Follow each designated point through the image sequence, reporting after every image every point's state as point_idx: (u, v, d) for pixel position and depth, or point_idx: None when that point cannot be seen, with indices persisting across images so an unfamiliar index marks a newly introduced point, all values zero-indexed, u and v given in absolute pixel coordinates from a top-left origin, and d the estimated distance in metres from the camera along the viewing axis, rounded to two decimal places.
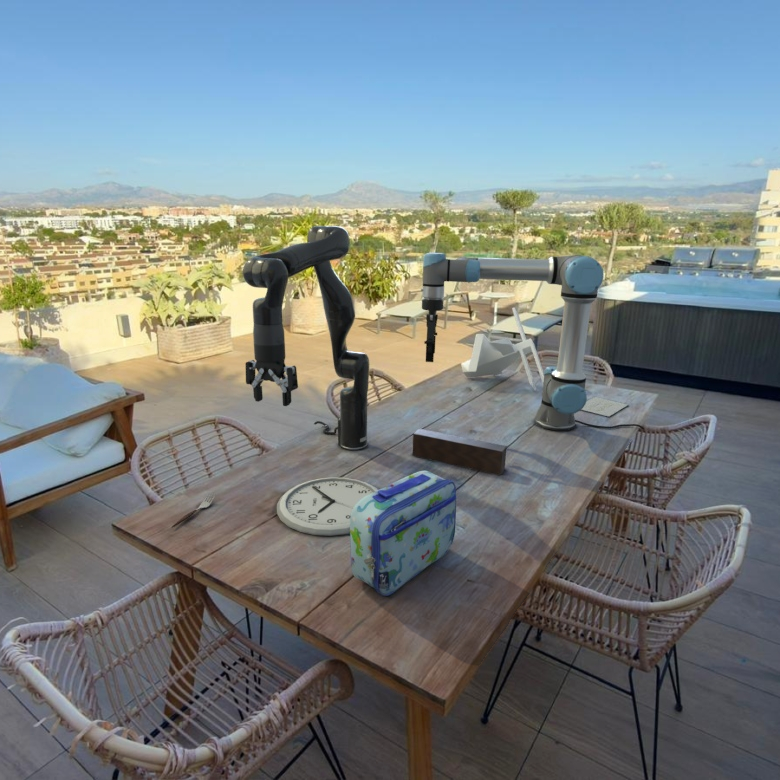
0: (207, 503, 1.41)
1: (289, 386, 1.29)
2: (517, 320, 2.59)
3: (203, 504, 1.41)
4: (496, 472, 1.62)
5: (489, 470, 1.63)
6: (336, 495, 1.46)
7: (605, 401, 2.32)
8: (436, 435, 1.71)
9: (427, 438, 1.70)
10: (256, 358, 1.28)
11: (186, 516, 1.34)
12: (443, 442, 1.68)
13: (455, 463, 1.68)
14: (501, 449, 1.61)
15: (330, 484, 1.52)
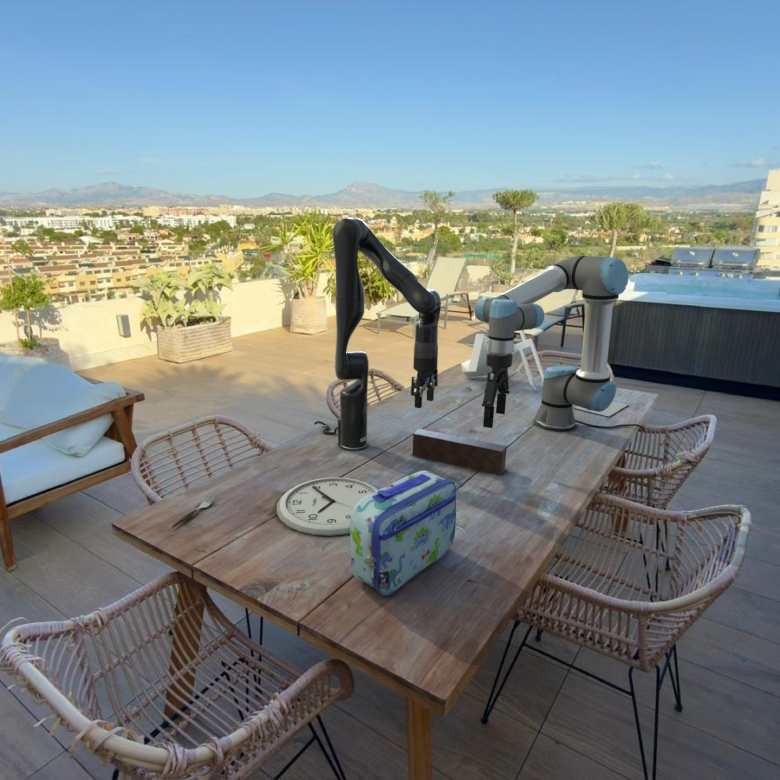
0: (207, 503, 1.41)
1: (436, 383, 1.71)
2: None
3: (203, 504, 1.41)
4: (496, 472, 1.62)
5: (489, 470, 1.63)
6: (336, 495, 1.46)
7: None
8: (436, 435, 1.71)
9: (427, 438, 1.70)
10: (432, 369, 1.61)
11: (186, 516, 1.34)
12: (443, 442, 1.68)
13: (455, 463, 1.68)
14: (501, 449, 1.61)
15: (330, 484, 1.52)
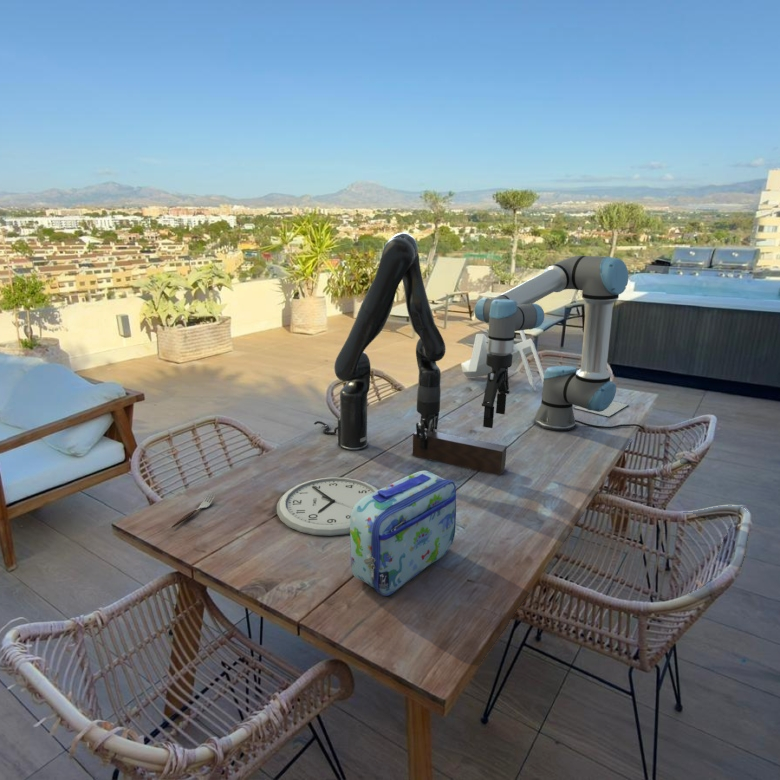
0: (207, 503, 1.41)
1: (436, 426, 1.76)
2: None
3: (203, 504, 1.41)
4: (496, 472, 1.62)
5: (489, 470, 1.63)
6: (336, 495, 1.46)
7: None
8: (436, 435, 1.71)
9: (427, 438, 1.70)
10: (435, 412, 1.67)
11: (186, 516, 1.34)
12: (443, 442, 1.68)
13: (455, 463, 1.68)
14: (501, 449, 1.61)
15: (330, 484, 1.52)
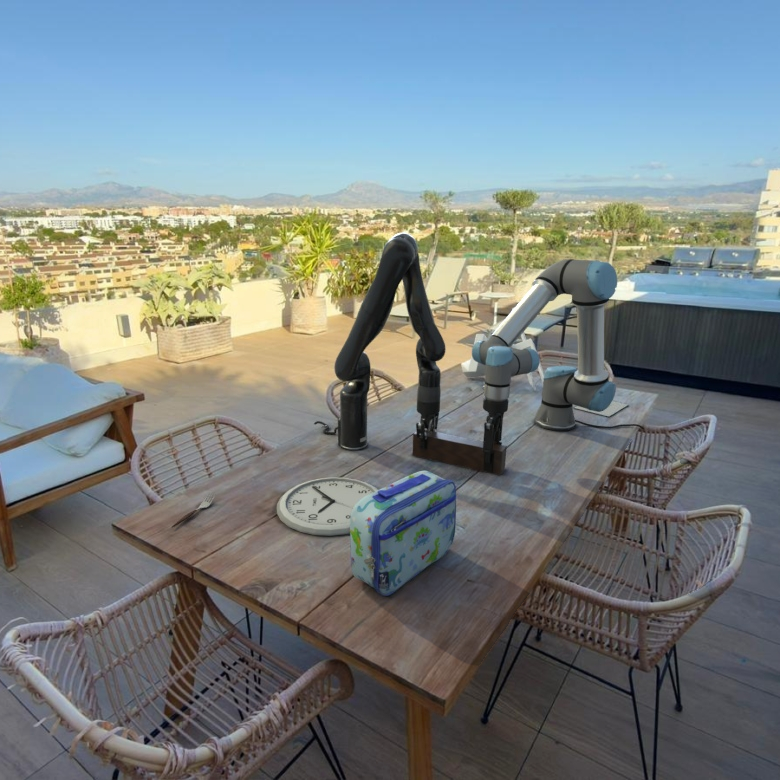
0: (207, 503, 1.41)
1: (436, 426, 1.76)
2: None
3: (203, 504, 1.41)
4: (496, 472, 1.62)
5: None
6: (336, 495, 1.46)
7: None
8: (436, 435, 1.71)
9: (427, 438, 1.70)
10: (435, 412, 1.67)
11: (186, 516, 1.34)
12: (443, 442, 1.68)
13: (455, 463, 1.68)
14: (501, 449, 1.61)
15: (330, 484, 1.52)
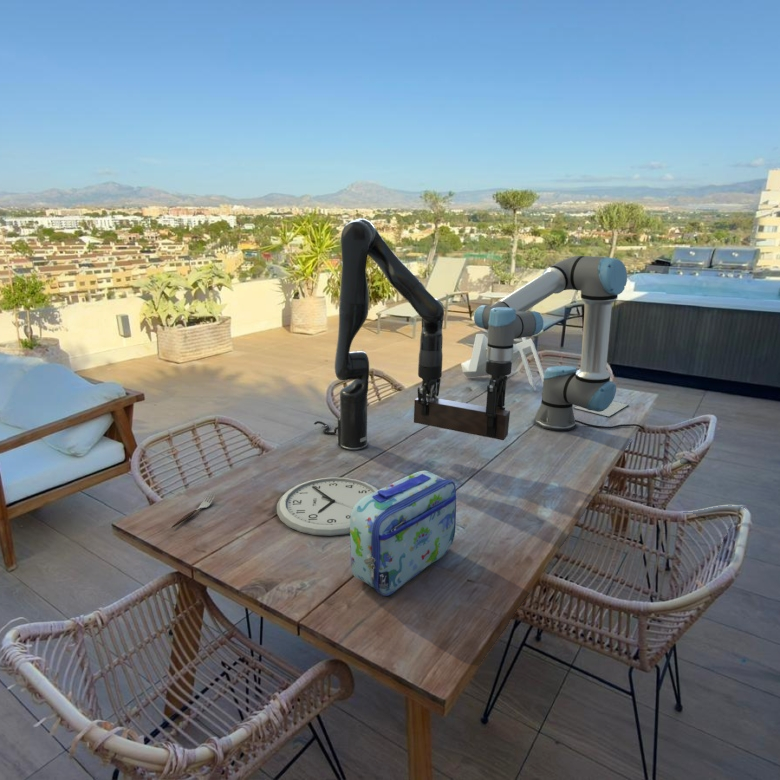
0: (207, 503, 1.41)
1: (437, 392, 1.73)
2: None
3: (203, 504, 1.41)
4: (499, 437, 1.59)
5: None
6: (336, 495, 1.46)
7: None
8: (438, 401, 1.68)
9: (429, 404, 1.67)
10: (437, 377, 1.64)
11: (186, 516, 1.34)
12: (445, 408, 1.65)
13: (457, 429, 1.65)
14: (504, 413, 1.58)
15: (330, 484, 1.52)
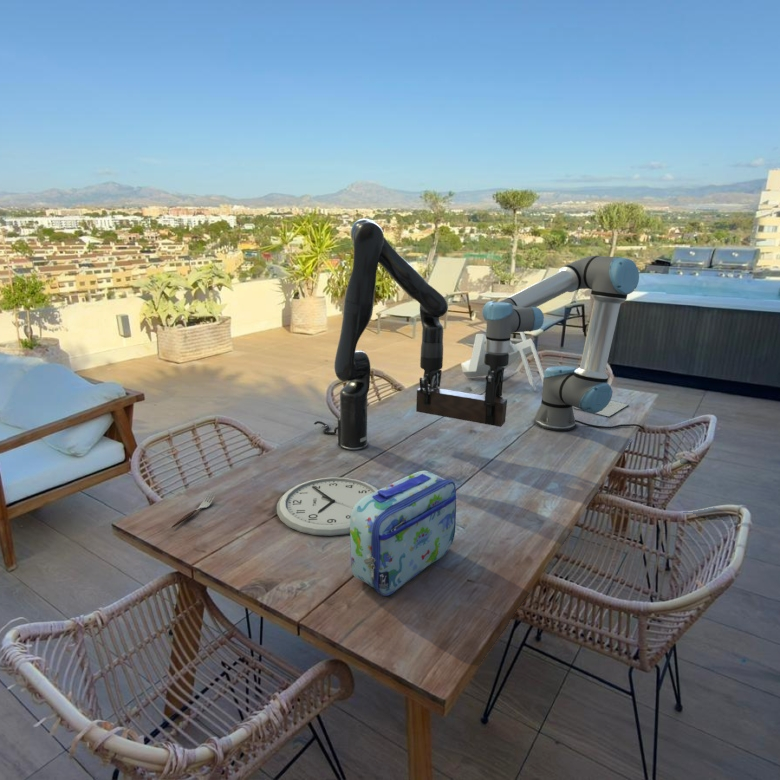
0: (207, 503, 1.41)
1: (439, 383, 1.82)
2: None
3: (203, 504, 1.41)
4: (497, 424, 1.69)
5: None
6: (336, 495, 1.46)
7: None
8: (439, 391, 1.77)
9: (430, 394, 1.77)
10: (438, 367, 1.74)
11: (186, 516, 1.34)
12: (446, 397, 1.74)
13: (457, 417, 1.74)
14: (502, 401, 1.67)
15: (330, 484, 1.52)
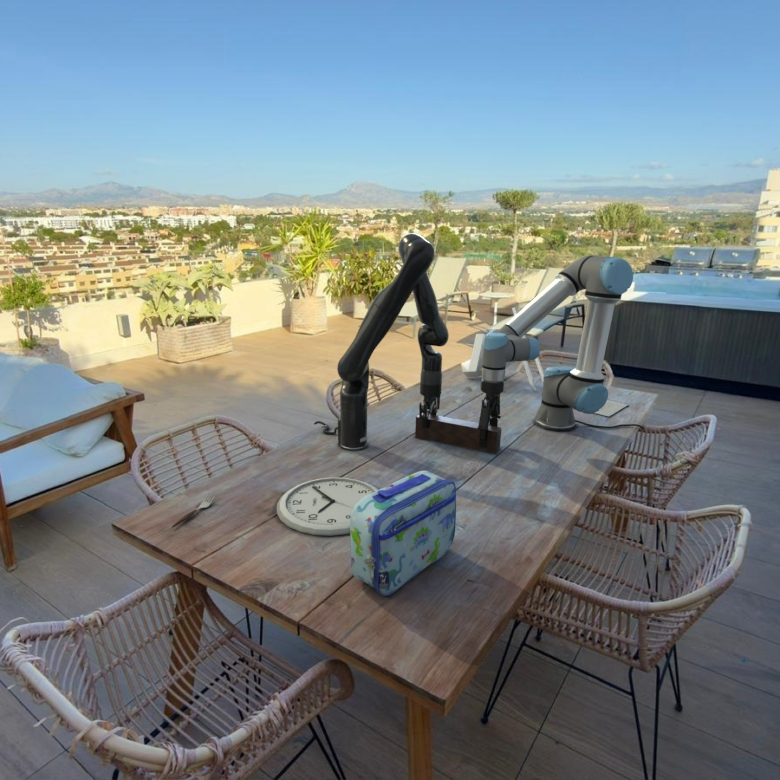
0: (207, 503, 1.41)
1: (438, 406, 1.91)
2: None
3: (203, 504, 1.41)
4: (492, 451, 1.77)
5: (485, 449, 1.78)
6: (336, 495, 1.46)
7: None
8: (437, 418, 1.86)
9: (429, 421, 1.86)
10: (437, 394, 1.82)
11: (186, 516, 1.34)
12: (443, 424, 1.83)
13: (454, 443, 1.83)
14: (496, 430, 1.76)
15: (330, 484, 1.52)
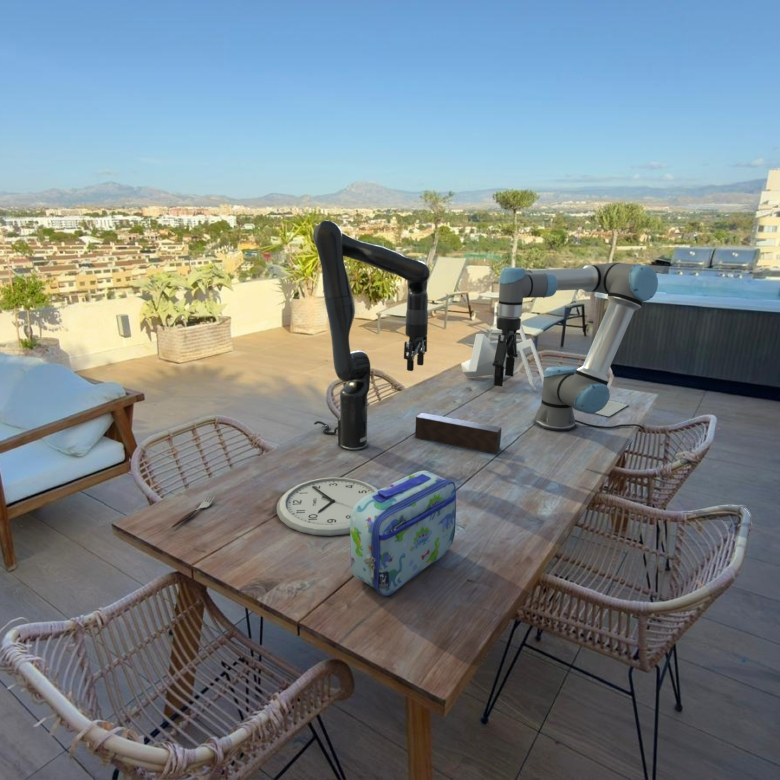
0: (207, 503, 1.41)
1: (426, 349, 1.86)
2: None
3: (203, 504, 1.41)
4: (492, 451, 1.77)
5: (485, 449, 1.78)
6: (336, 495, 1.46)
7: None
8: (437, 418, 1.86)
9: (429, 421, 1.86)
10: (423, 334, 1.76)
11: (186, 516, 1.34)
12: (443, 424, 1.83)
13: (454, 443, 1.83)
14: (496, 430, 1.76)
15: (330, 484, 1.52)
